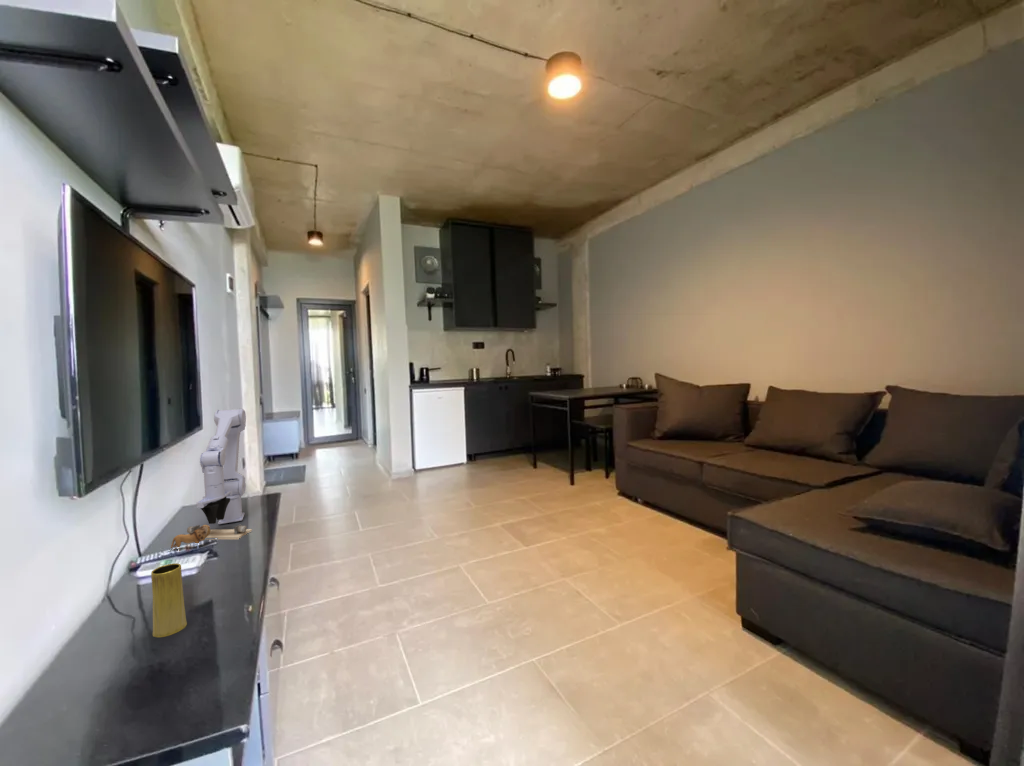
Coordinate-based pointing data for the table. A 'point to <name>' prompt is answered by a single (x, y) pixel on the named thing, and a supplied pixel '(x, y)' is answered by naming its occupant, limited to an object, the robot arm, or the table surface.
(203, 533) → the lion figurine
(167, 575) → the vase
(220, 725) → the table surface
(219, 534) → the shaft rig
